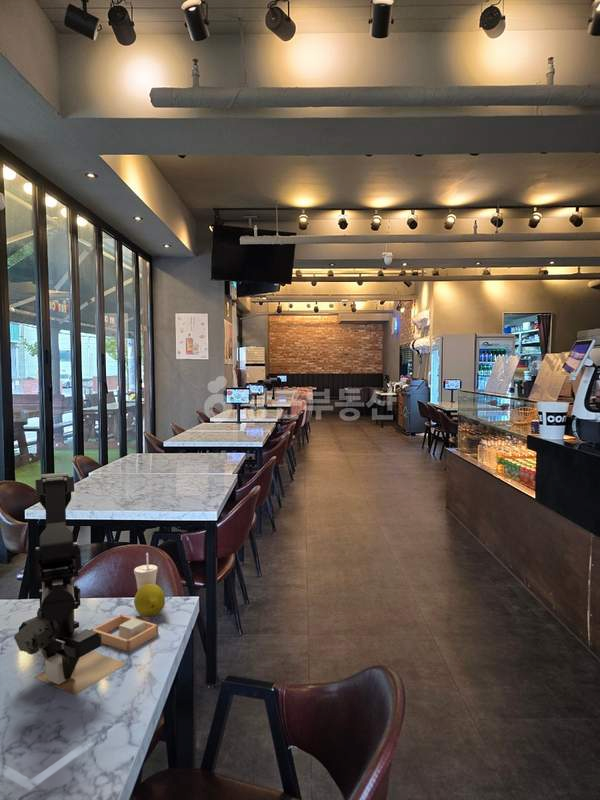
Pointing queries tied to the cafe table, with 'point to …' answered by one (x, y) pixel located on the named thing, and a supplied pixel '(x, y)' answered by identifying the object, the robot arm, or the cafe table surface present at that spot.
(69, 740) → the cafe table surface
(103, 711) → the cafe table surface
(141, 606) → the lemon
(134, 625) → the cream cube
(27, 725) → the cafe table surface
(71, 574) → the robot arm
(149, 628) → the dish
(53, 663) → the stone
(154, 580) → the smoothie
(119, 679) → the cafe table surface
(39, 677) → the board
